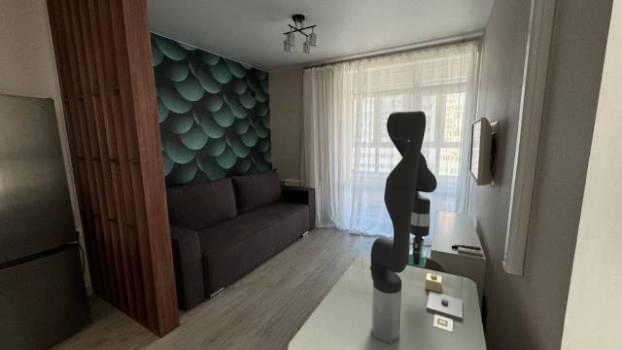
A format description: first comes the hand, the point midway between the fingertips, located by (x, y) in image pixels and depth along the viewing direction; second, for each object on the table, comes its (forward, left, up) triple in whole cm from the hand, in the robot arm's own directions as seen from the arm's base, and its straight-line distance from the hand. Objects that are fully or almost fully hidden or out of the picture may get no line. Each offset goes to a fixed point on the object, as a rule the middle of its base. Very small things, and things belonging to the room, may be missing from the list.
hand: (417, 260), depth 106 cm
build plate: (-3, -11, -15) cm, 19 cm away
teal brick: (0, 0, -1) cm, 1 cm away
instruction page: (-13, -11, -15) cm, 23 cm away
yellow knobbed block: (+9, -6, -15) cm, 19 cm away
